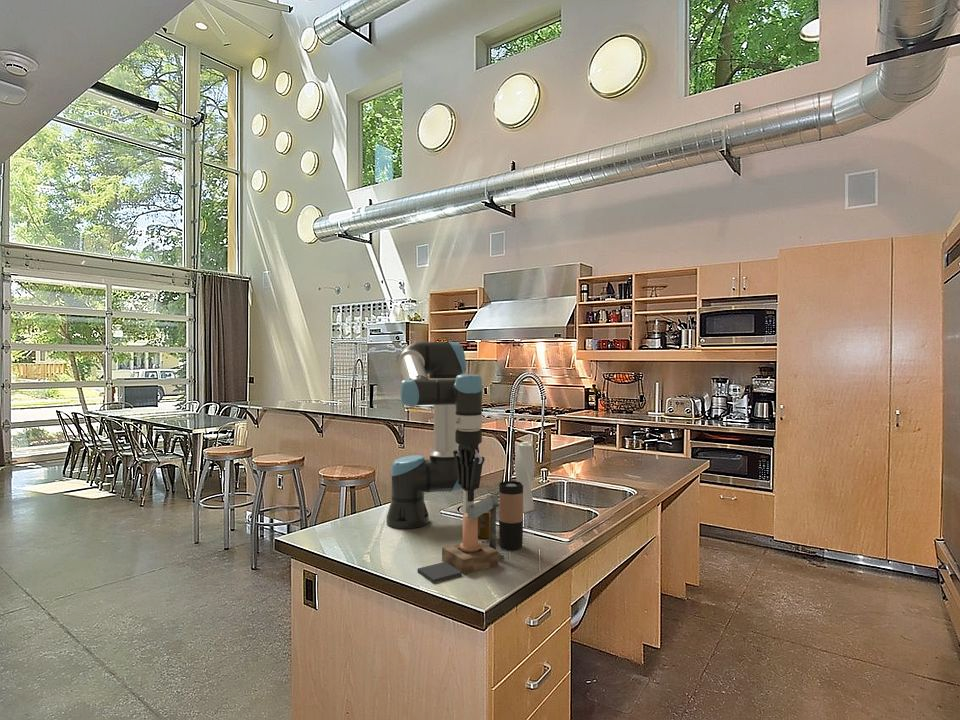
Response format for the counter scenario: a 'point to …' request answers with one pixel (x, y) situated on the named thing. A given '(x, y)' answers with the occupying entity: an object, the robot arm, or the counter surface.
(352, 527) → the counter surface
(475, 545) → the peg
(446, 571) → the mat
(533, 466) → the skyscraper
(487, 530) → the condiment
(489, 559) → the socket block
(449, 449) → the robot arm
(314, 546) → the counter surface
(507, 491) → the travel mug
